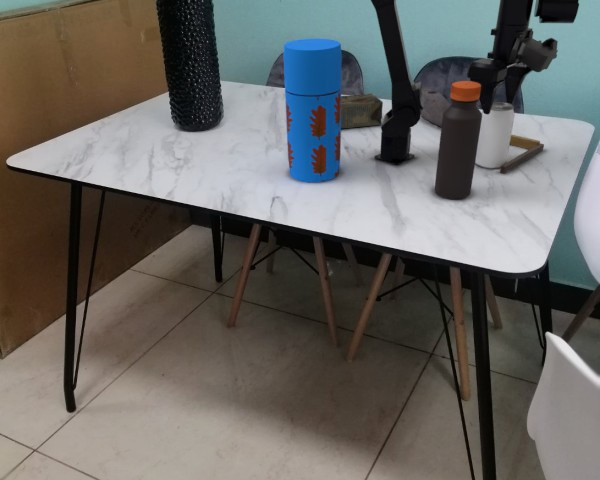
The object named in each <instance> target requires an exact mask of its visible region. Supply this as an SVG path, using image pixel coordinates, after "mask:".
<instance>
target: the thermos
mask: <svg viewBox="0 0 600 480" xmlns="http://www.w3.org/2000/svg"><path fill="white" fill-rule="evenodd" d="M342 54H343V53H342V44H341V42H340V41H338V40H335V39H329V38H303V39H302V38H301V39H296V40H291V41H288V42H285V43H283V55H282V56H283V76H284V77H283V78H284V97H285V98H284V101H285V121H286V143H287V146H286V147H287V160H288V169H289V176H290V177H291V178H292V179H294V180H297V181H299V182H304V183H323V182H328V181H331V180H334V179H335V178H337V177H338V176H339V174H340V170H341V156H342V155H341V149H342V146H341V145H342V144H341V143H342V139H341V138H342V128H341V96H342V61H343V59H342V57H343V55H342Z"/></svg>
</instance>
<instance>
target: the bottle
mask: <svg viewBox="0 0 600 480" xmlns="http://www.w3.org/2000/svg"><path fill="white" fill-rule="evenodd" d="M480 90H481V85H480V84H479V83H477V82H472V81H470V80H461V81H455V82H453V83H452V84H451V87H450V101H451V104H450V107H448V108H447V109H446V110H445V111H444V113H443V118H442V127H440V136H439V146H438V155H437V164H436V174H435V180H434V181H435V182H434V192H435V194H436V195H437V196H439V197H441V198H443V199H448V200H460V199H465V198H467V197H468V196H470V195H471V192H472V185H473V179H474V173H475V166H476V163H475V160H476V153H477V147H478V140H479V134H480V127H481V120H482V111H481V110H480V109H479V108H478V107H477V104H478V103H479V102H480V100H479V97H480Z"/></svg>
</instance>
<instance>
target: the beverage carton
mask: <svg viewBox="0 0 600 480" xmlns="http://www.w3.org/2000/svg"><path fill="white" fill-rule="evenodd" d="M383 104H384V102H383V101H382V100H381V99H380V98H379V97H378V96H376V95H375V93H367V94H365V93H364V94H352V95H351V94H350V95H341V129H351V128H361V127H372V126H373V127H374V126H382V121H383V106H384V105H383Z"/></svg>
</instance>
